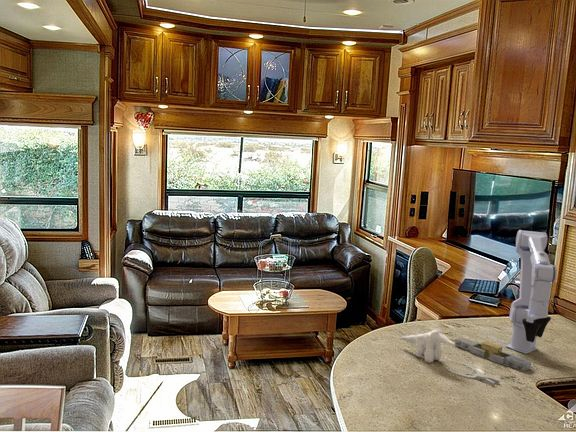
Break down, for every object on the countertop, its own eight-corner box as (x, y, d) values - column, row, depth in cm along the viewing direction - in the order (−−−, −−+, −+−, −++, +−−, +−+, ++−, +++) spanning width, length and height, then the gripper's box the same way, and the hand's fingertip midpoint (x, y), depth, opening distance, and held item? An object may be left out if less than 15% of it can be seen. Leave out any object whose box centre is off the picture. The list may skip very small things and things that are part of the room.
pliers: (463, 360, 174) (505, 378, 163) (463, 365, 174) (504, 382, 163) (446, 366, 168) (488, 385, 156) (445, 371, 168) (487, 390, 157)
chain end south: (462, 342, 194) (463, 336, 194) (492, 353, 185) (493, 347, 185) (453, 346, 190) (453, 339, 190) (483, 357, 181) (484, 351, 181)
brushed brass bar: (484, 353, 186) (486, 341, 185) (500, 359, 181) (502, 346, 181) (480, 354, 184) (481, 342, 183) (496, 360, 179) (498, 348, 179)
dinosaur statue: (447, 370, 166) (448, 336, 165) (390, 351, 185) (391, 320, 184) (460, 366, 170) (461, 333, 169) (403, 347, 189) (404, 317, 189)
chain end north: (498, 355, 184) (498, 349, 184) (531, 368, 175) (532, 361, 175) (488, 359, 180) (489, 353, 179) (523, 372, 171) (524, 365, 170)
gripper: (534, 293, 181) (529, 330, 183) (519, 300, 170) (513, 339, 172) (556, 298, 176) (550, 337, 178) (541, 306, 166) (535, 346, 167)
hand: (534, 338), depth 175 cm, fingers open, 7 cm apart
